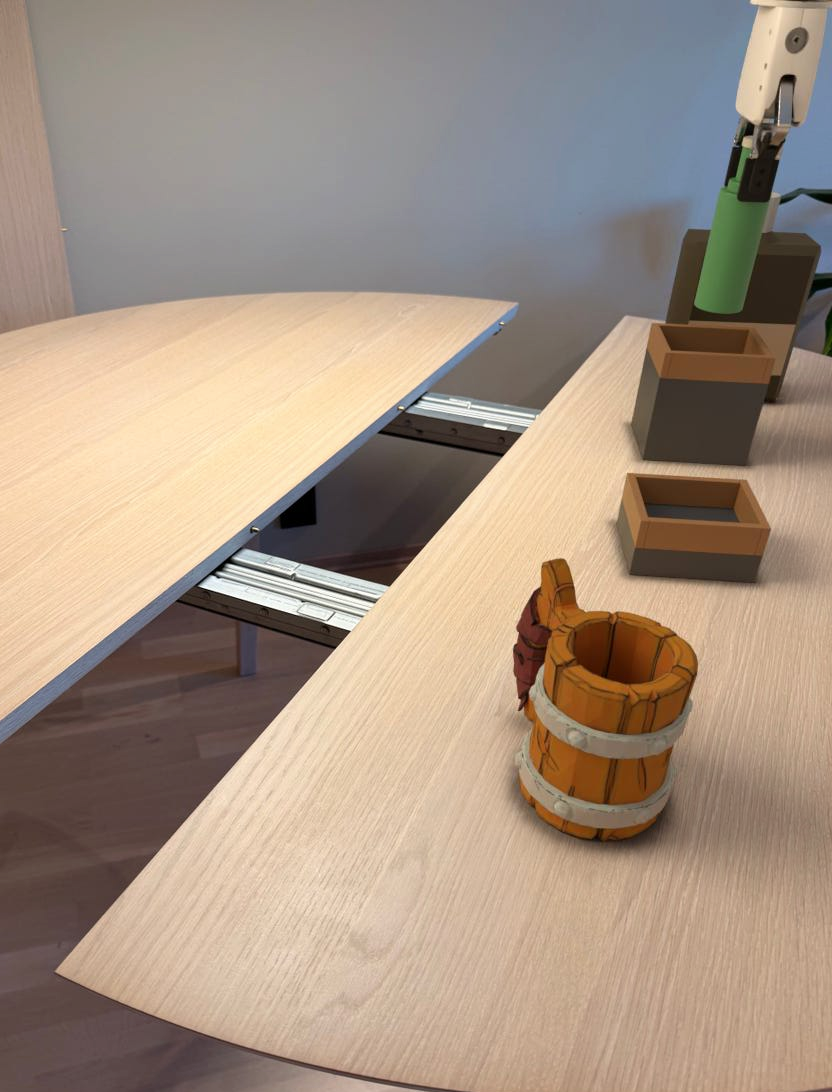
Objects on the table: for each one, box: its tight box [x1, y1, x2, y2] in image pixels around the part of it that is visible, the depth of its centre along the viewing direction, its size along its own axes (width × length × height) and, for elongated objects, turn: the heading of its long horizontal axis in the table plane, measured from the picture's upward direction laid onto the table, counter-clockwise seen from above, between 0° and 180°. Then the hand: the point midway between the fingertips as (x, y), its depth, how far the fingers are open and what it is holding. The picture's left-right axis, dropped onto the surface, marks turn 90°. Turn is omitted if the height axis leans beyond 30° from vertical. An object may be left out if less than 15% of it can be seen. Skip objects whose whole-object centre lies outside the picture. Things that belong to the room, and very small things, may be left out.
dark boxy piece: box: [664, 191, 822, 403], centre depth 126 cm, size 8×16×25 cm, turn 87°
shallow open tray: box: [616, 472, 772, 583], centre depth 97 cm, size 12×10×6 cm
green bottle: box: [694, 136, 772, 314], centre depth 105 cm, size 5×5×17 cm
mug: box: [512, 557, 699, 842], centre depth 69 cm, size 11×16×15 cm, turn 24°
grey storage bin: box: [630, 322, 776, 466], centre depth 116 cm, size 12×10×13 cm
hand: (745, 192), depth 103 cm, fingers closed on green bottle, 5 cm apart
